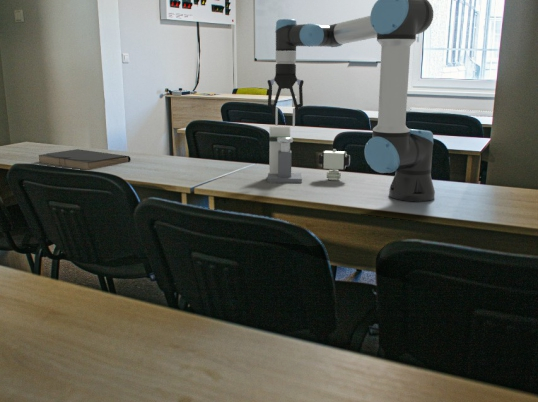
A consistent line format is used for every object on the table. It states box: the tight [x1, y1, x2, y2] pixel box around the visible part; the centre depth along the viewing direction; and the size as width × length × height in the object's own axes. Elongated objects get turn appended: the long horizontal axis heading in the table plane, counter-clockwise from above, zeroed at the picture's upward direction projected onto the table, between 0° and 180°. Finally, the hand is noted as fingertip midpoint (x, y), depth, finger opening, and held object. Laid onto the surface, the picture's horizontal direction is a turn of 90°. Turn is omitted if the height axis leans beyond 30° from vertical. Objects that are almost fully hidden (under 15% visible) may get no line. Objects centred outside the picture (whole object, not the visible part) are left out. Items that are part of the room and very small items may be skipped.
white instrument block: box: [268, 136, 294, 152], centre depth 221 cm, size 9×6×11 cm
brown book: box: [38, 148, 131, 171], centre depth 259 cm, size 33×4×24 cm
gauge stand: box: [266, 125, 303, 184], centre depth 221 cm, size 13×11×20 cm
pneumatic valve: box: [317, 148, 351, 182], centre depth 223 cm, size 6×12×12 cm, turn 78°
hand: (285, 125), depth 219 cm, fingers open, 6 cm apart
